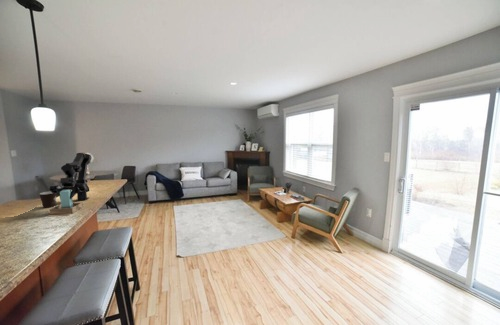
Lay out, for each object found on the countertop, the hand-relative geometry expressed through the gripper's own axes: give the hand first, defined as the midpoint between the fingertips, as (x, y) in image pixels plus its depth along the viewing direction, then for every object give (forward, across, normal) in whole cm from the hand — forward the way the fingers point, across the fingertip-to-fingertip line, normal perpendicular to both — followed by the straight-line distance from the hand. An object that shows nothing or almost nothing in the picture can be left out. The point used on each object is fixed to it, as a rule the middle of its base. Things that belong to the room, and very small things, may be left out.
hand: (65, 199), depth 135 cm
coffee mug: (-7, -15, +19) cm, 25 cm away
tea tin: (+4, 0, +6) cm, 7 cm away
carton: (+5, 0, +7) cm, 8 cm away
